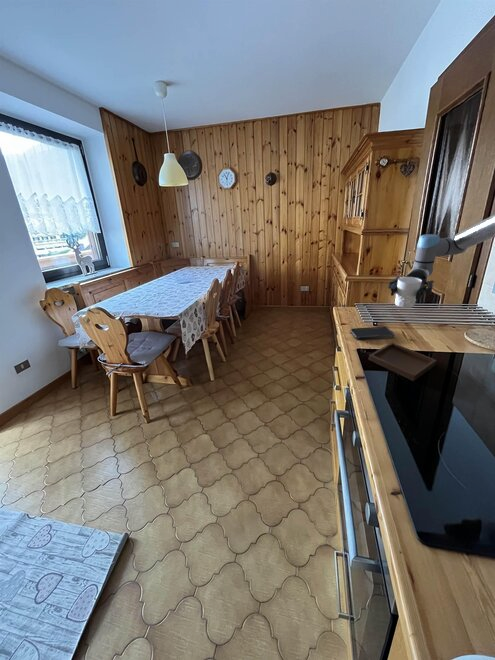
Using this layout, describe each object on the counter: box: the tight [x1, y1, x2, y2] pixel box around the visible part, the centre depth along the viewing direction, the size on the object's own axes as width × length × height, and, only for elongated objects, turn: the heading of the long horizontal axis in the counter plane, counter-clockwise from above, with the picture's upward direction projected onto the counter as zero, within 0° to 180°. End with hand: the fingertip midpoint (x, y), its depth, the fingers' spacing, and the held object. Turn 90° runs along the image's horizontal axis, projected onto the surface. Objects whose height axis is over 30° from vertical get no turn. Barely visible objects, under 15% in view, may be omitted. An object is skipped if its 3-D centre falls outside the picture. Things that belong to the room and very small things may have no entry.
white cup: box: [394, 276, 422, 309], centre depth 107 cm, size 8×8×10 cm
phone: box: [350, 326, 395, 341], centre depth 114 cm, size 8×1×15 cm
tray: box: [368, 342, 437, 382], centre depth 96 cm, size 16×14×2 cm
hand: (404, 294), depth 103 cm, fingers closed on white cup, 8 cm apart
